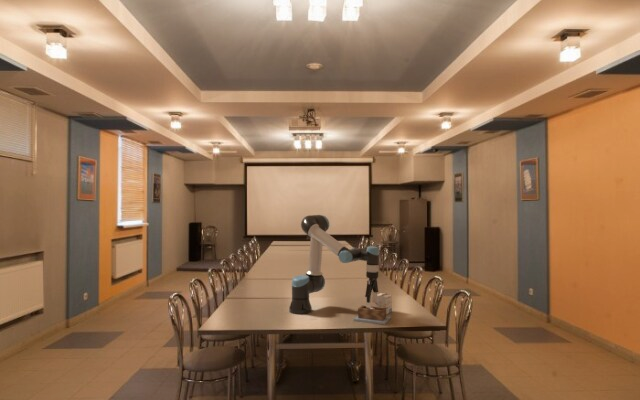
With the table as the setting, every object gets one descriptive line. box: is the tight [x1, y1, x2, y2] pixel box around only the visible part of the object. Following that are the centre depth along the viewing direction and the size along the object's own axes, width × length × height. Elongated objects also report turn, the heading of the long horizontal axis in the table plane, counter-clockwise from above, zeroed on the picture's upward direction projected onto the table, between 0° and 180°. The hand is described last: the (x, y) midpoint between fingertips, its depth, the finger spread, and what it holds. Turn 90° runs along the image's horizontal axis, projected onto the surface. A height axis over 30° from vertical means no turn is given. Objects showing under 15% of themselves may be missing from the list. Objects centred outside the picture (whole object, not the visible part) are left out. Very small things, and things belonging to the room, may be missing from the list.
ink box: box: [374, 291, 393, 315], centre depth 284 cm, size 9×8×13 cm
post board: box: [353, 308, 391, 325], centre depth 266 cm, size 20×14×7 cm
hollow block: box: [357, 305, 387, 321], centre depth 266 cm, size 16×8×6 cm, turn 67°
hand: (371, 304), depth 267 cm, fingers open, 13 cm apart
